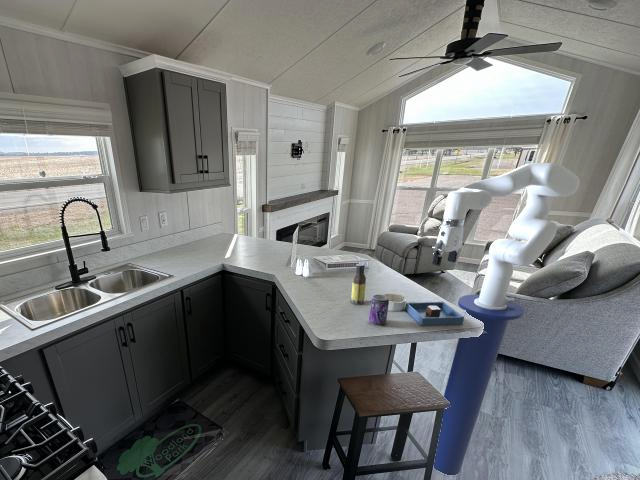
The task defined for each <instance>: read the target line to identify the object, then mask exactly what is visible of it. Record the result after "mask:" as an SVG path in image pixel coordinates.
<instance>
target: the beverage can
mask: <svg viewBox="0 0 640 480" xmlns="http://www.w3.org/2000/svg"><path fill="white" fill-rule="evenodd" d="M388 306H389V300H388V297H387V296H385V295H383V294H374V295H372V298H371V301H370V308H369V315H368V321H369V323H372V324H373V325H377V326H381V325H384V324H386V323H387V319H388V312H389V310H388Z"/></svg>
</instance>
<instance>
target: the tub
mask: <svg viewBox="0 0 640 480" xmlns="http://www.w3.org/2000/svg"><path fill="white" fill-rule="evenodd" d="M427 306H437V307H439V308H440V309H441V312H440V316H439V317H429V316H428V315H427V314H426V310H427ZM404 310H405V311H406V313H408V314H409V315H410V316H411V317H412V318H413V319H414V320H415V321H416V322H417V323H419V325H420V326H448V325H449V326H452V325H453V326H456V325H458V326H459V325H463V324H464V320H465V316H463V315H462V314H461V313H460V312H458V311H457V310H455V309H454V308H452V307H451V306H450V305H448V304H447V303H445V301H425V302H424V301H423V302H422V301H421V302H420V301H419V302H406V304H405V309H404Z"/></svg>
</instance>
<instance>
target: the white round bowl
mask: <svg viewBox="0 0 640 480" xmlns="http://www.w3.org/2000/svg"><path fill="white" fill-rule="evenodd" d="M382 295H385V296H387V297H388V300H389V306H388V311H390V312H401V311H403V310H405V306H406V303H407V297H405V296H403V295H401V294H399V293H398V294H397V293H383V294H382Z"/></svg>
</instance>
